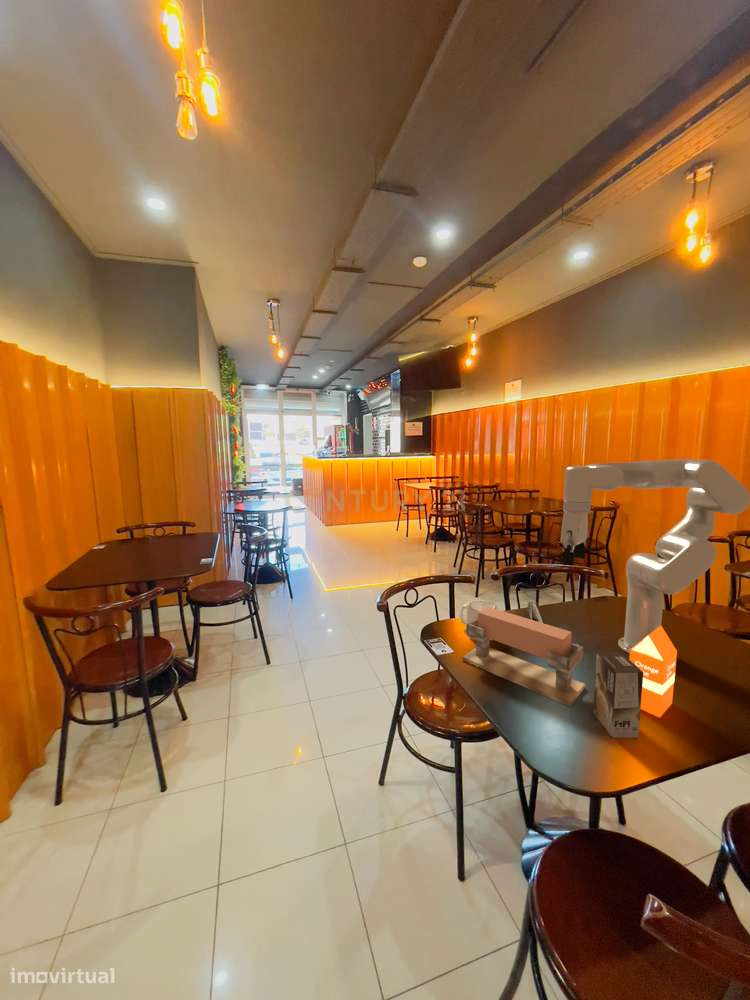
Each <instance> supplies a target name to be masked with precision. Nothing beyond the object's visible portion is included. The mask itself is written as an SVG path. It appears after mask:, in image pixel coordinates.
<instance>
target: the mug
mask: <svg viewBox="0 0 750 1000" xmlns="http://www.w3.org/2000/svg"><path fill="white" fill-rule="evenodd" d="M487 607H491V608H494V609H497V608H498V607H497V605H496V604H495V603H494V602H491V601H487V600H482V599H479V600H478V599H475V600H470V601H468V602H467V603H465V604H463V605H462V606H461V608H460V610H459V611H460V613H459V614H460V615H459V616H460V617H459V618H460V620H461V624H464V625H465V628H466V627H467V624H468V623H469V622H471V621H473V620H474V619H476V618H478V612H480V611H482V610H483V609H485V608H487ZM465 613H466V615H465ZM465 634H467V633H466V632H465ZM469 639H471V637H470V638H469ZM473 639H474V638H472V639H471V640H473ZM490 640H491V641H493V640H492V639H490ZM474 641H476V639H475V640H474Z"/></svg>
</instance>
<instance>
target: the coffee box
mask: <svg viewBox="0 0 750 1000" xmlns="http://www.w3.org/2000/svg"><path fill="white" fill-rule="evenodd" d="M595 659H596V660H595V675H594V693H593V710H592V712H593V714H594V716H595V717H596V719H598V721H599V723H601V725H602V727H603V728H604V729H605V731H606V732H608V734H609V735H610V736H611V738H625V739H627V738H635V739H637V738H639V734H640V733H639V732H640V721H641V720H640V719H641V710H642V709H641V697H642V684H643V671H642V670H640V669H639V668H638V667H637V666H636V665H635V664H634V663H633V662H631V661H630V660H629V657H627V656H626V655H625V654H624V653H623V652H622V651H621V652H620V651H615V652H614V651H610V652H609V651H606V652H605V651H604V652H596V657H595Z"/></svg>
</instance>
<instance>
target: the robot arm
mask: <svg viewBox="0 0 750 1000" xmlns="http://www.w3.org/2000/svg"><path fill="white" fill-rule="evenodd" d="M563 485H564V487H563V506H562V507H563V508H562V509H563V510H562V511H563V517H562V522H561V530H560V540H559V541H560V543H561V544H562V561H561V562H562V564H563V565H567V566H574V565H575V558H578V559H586V551H587V550H586V547H587V546H586V545H587V539H588V533H589V531H588V528H589V516H588V515H589V514H590V513H591V506H592V493H593V492H592V490H597V491H607V492H611V491H614V490H617V489H618V488H620V487H624V488H625V487H627V488H633V489H642V490H643V489H644V490H645V489H649V490H652V489H664V488H665V489H666V488H688V490H687V492H686V512H685V515H684V516H683V517H682V519H681V520H680V521H679V522H677V523H676V524H675V525H674V526H673V527H671V528H670V530H668V531H666V533H665V534H663V535H662V536H661V537H660V538H659V539H657V542H655V551H656V553H657V555H658V556H657V555H654V554H652V553H648V552H647V553H646V552H638V553H634V554H632V555H631V556H630V557H629V558H628V560H627V561H626V565H625V573H626V581H627V597H626V598H627V599H626V608H625V621H624V624H625V625H624V635H623V636H622V637H620V638H619V639H618V643H617V644H618V647H620V649H621V650H622V651H623V652H626V653H628V654H630V650H631V649H632V648H633V647H634V646H636V645H637V644H638V643H640V641H642V640H643V639H644V638H646V637H647V636H648V635H649V634H651V633H652V632H653V631H654V630H656V629H657V628H658V627H660V626H662V619H663V608H664V595H665V594H666V595H676V594H678V593H680V592H682V591H684V590H685V589H687V588H688V587H689V586H690V585H691V584H692V583H693V582H695V581H696V580H698V579H699V578H700V577H701V576H702V575H703V574H704V573H706V572H707V571H708V570H709V569H710V568H711V567H712V566H713V564H714V563H715V561H716V557H717V549H716V546H715V545H714V544H713V543H712V542H711V541H709V540H708V539H709V537H711V536H712V535H713V533H714V532H715V529H716V520H715V513H719V514H727V515H737V514H741V513H743V512H744V511H746V510H747V509H748V508H749V506H750V492H749V491H748V490H747V488H746V487H745V486H744V485H743V484H742V483H741V482H740V481H739V480H738V479H736V477H735V476H733V475H732V474H731V473H730V472H729V471H728V470H727V469H726V468H725V467H723V466H722V465H721V464H719V463H717V462H716V461H714V460H710V459H695V458H693V459H692V458H691V459H690V458H682V459H681V458H680V459H678V458H677V459H662V460H640V461H638V460H637V461H628V462H625V461H623V462H604V463H603V462H602V463H590V464H587V465H572V466H567V467H566V468H565V471H564V484H563ZM675 649H676V650H677V648H675ZM677 651H678V650H677Z"/></svg>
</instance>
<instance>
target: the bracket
mask: <svg viewBox="0 0 750 1000" xmlns="http://www.w3.org/2000/svg"><path fill="white" fill-rule="evenodd" d="M537 604H538V603H537V602H535V601H533V602H532V601H529V602H528V603H527V606H526V611H528V613H529V617H530V618H529V619H531V620H533V618H534V620H535V619H536V620H537V622H541V623H544V622H543V620H542V616H541V614H540V611H539V609H538V607H537ZM527 608H529V609H527Z"/></svg>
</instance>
